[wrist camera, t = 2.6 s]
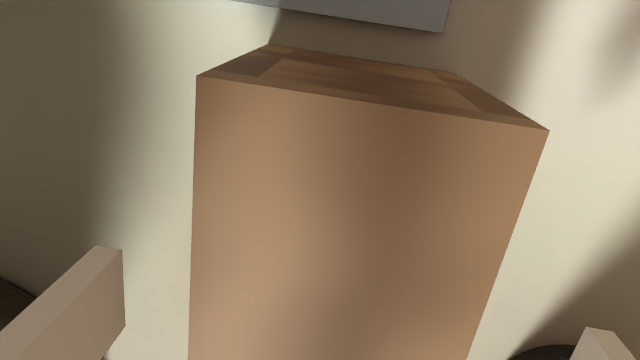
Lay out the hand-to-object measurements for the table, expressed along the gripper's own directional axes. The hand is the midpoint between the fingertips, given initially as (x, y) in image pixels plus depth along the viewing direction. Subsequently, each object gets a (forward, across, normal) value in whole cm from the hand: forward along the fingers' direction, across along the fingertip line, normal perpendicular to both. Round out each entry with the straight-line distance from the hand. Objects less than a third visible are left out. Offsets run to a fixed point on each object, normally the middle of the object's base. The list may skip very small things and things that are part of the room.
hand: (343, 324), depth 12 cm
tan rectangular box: (+9, +1, 0) cm, 9 cm away
